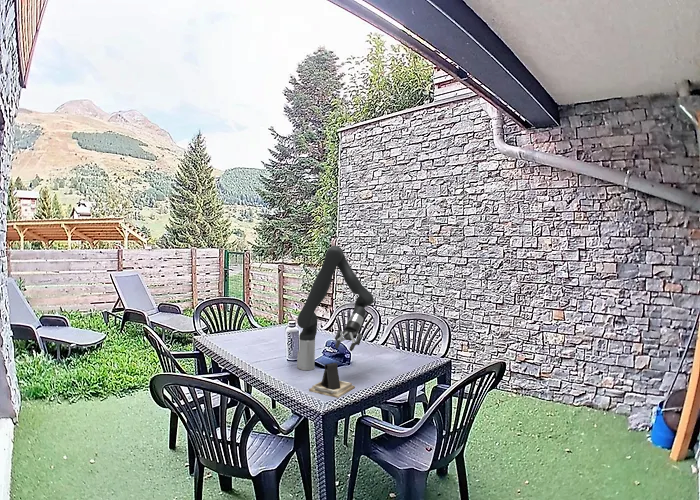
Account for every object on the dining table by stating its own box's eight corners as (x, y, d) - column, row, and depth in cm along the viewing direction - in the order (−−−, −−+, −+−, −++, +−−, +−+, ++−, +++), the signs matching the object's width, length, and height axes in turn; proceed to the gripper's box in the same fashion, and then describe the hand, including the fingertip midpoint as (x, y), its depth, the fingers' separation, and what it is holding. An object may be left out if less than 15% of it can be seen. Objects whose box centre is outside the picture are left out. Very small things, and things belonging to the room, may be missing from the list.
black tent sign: (340, 388, 229) (341, 364, 229) (330, 390, 226) (331, 366, 225) (330, 383, 236) (331, 360, 236) (321, 385, 233) (321, 362, 232)
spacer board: (308, 391, 227) (309, 386, 227) (326, 381, 242) (327, 377, 242) (338, 397, 219) (338, 392, 219) (354, 387, 233) (355, 383, 233)
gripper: (341, 318, 249) (329, 343, 240) (363, 321, 242) (352, 347, 233) (345, 326, 254) (334, 350, 244) (368, 329, 247) (357, 355, 238)
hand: (343, 349), depth 239 cm, fingers open, 8 cm apart
